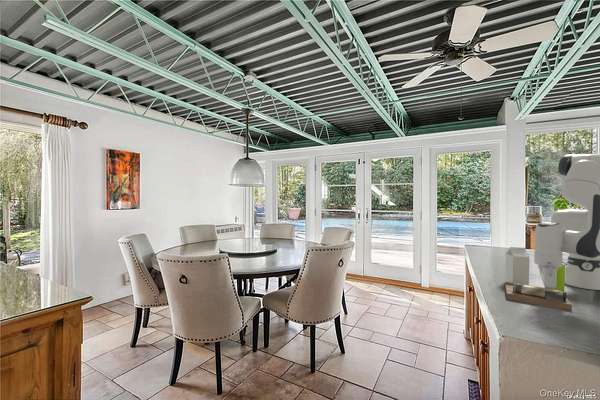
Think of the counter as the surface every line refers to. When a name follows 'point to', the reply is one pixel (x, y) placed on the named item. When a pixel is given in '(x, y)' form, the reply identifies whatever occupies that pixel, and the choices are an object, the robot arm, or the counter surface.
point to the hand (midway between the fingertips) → (547, 293)
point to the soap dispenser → (560, 278)
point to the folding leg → (534, 290)
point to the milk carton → (517, 266)
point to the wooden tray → (539, 298)
